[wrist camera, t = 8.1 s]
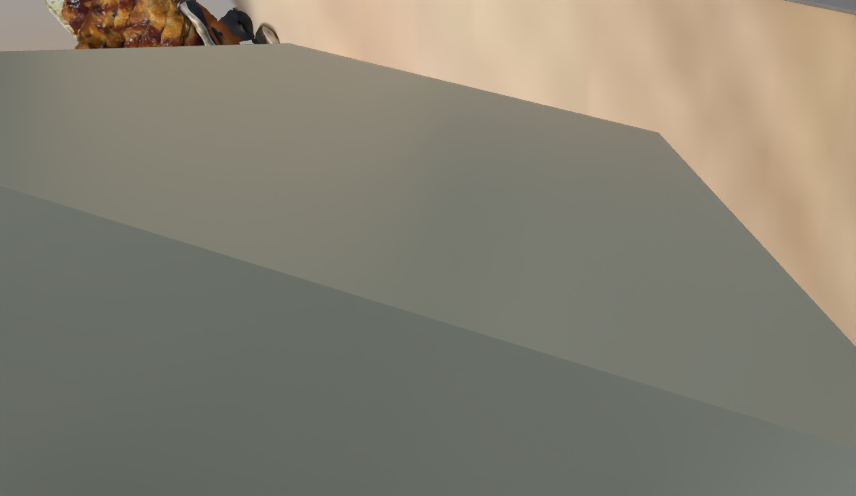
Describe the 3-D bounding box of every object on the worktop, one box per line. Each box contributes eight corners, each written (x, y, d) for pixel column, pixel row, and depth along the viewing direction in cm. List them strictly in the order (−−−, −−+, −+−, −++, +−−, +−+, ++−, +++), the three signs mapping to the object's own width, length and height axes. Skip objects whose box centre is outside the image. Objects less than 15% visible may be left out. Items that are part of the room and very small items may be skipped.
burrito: (55, -92, 24) (-26, -112, 21) (289, 34, 23) (244, 34, 20) (38, 54, 27) (-35, 56, 24) (246, 169, 26) (201, 188, 23)
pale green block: (659, 132, 8) (985, 489, 2) (504, 542, 12) (426, 1140, 5) (289, 43, 9) (-402, 62, 3) (251, 450, 13) (-74, 876, 6)
